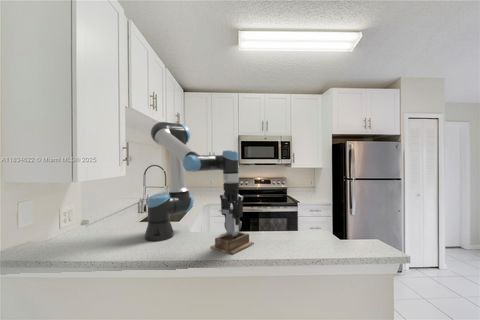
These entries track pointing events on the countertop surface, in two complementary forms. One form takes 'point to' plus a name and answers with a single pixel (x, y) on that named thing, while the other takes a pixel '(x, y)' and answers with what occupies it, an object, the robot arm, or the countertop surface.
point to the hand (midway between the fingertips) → (232, 230)
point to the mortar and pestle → (238, 225)
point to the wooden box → (232, 243)
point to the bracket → (229, 221)
